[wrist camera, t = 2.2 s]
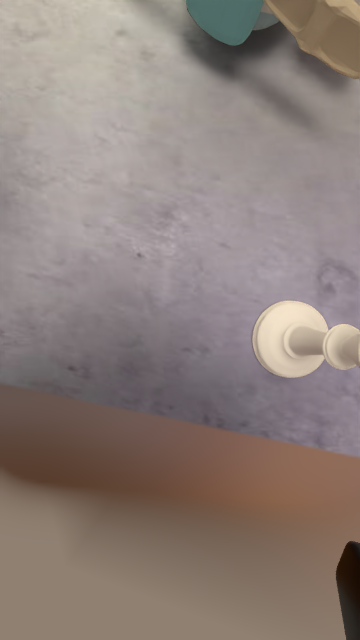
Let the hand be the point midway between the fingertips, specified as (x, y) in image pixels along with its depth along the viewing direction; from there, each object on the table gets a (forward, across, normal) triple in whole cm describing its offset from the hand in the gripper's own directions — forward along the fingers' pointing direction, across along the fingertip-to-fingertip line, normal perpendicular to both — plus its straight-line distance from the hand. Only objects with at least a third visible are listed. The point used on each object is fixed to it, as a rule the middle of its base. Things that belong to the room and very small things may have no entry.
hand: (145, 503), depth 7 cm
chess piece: (+15, -6, -1) cm, 16 cm away
